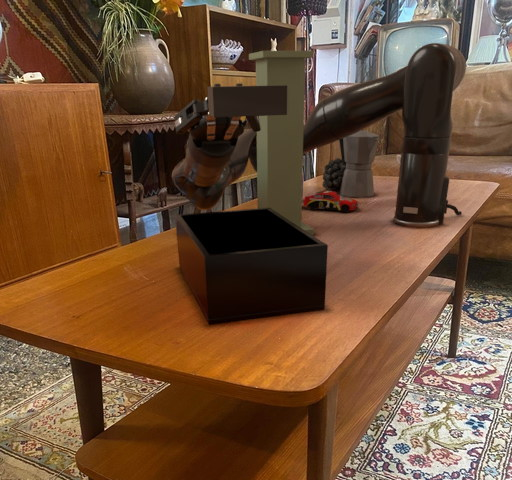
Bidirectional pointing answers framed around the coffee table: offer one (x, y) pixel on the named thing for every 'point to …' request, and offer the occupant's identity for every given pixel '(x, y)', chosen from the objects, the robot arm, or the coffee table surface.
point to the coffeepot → (358, 164)
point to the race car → (330, 201)
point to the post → (282, 135)
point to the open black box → (250, 264)
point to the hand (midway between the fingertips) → (229, 90)
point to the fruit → (333, 175)
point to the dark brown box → (247, 100)
